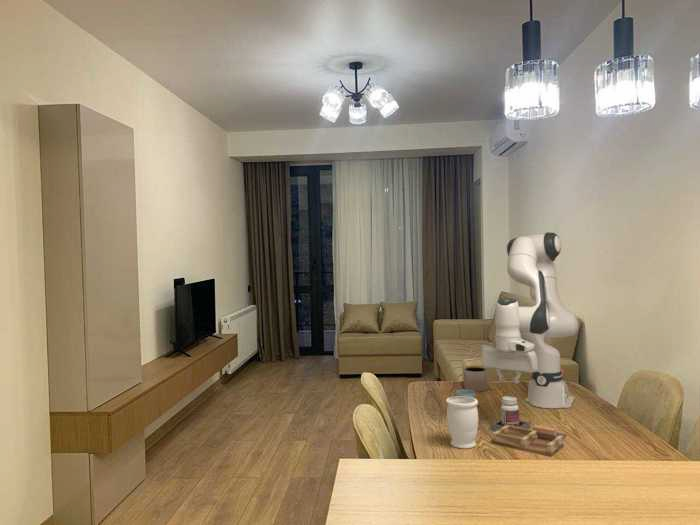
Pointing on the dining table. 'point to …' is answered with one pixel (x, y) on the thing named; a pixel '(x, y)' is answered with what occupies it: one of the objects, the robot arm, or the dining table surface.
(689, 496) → the dining table surface
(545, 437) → the grey metal lipped plate
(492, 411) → the dining table surface
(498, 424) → the socket collar
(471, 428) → the jar
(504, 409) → the pill bottle
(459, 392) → the cup
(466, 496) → the dining table surface
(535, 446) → the rack
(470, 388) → the planter
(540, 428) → the pink rectangular block
